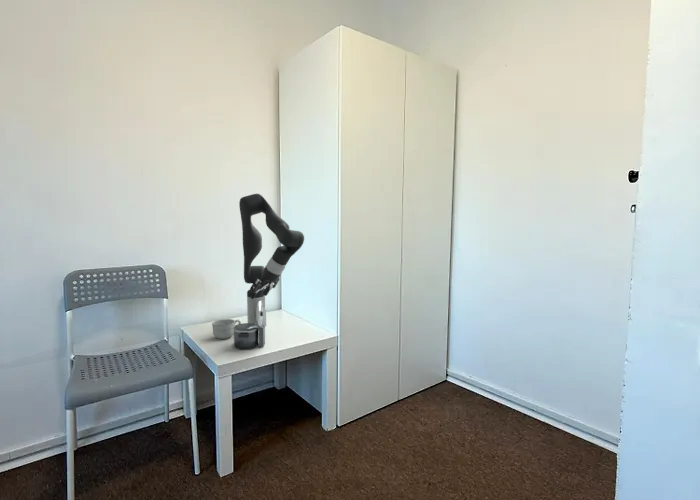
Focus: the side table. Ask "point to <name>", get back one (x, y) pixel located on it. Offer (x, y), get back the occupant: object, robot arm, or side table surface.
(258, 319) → the lid
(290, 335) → the side table surface
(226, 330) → the teacup
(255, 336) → the pot
